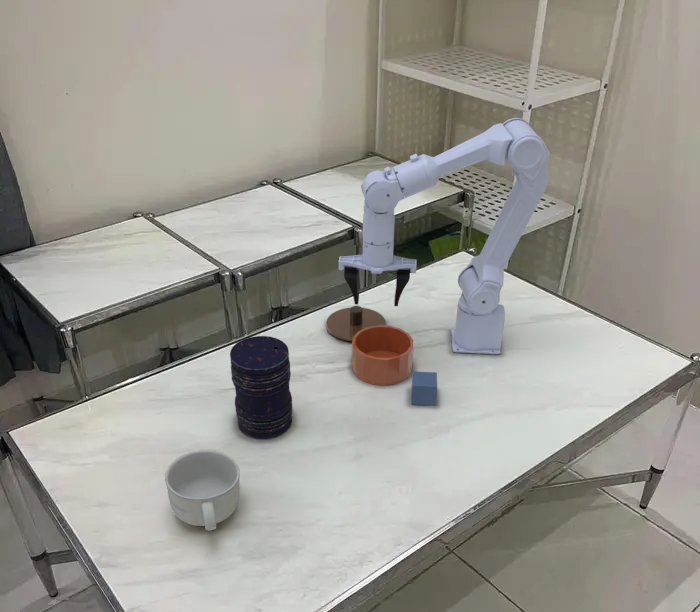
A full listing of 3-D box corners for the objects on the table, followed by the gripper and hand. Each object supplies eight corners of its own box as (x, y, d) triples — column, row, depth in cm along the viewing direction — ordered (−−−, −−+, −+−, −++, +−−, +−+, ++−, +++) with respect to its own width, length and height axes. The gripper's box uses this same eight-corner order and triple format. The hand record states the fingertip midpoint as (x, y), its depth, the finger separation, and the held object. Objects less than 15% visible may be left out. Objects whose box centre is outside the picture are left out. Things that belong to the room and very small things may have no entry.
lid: (386, 312, 157) (387, 294, 154) (384, 345, 147) (385, 326, 144) (329, 310, 158) (329, 292, 155) (323, 342, 148) (323, 323, 145)
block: (434, 391, 135) (436, 372, 132) (435, 405, 132) (437, 386, 129) (411, 390, 135) (412, 371, 133) (411, 404, 132) (412, 385, 129)
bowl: (411, 351, 145) (413, 326, 142) (411, 386, 136) (413, 360, 132) (354, 349, 146) (354, 324, 142) (350, 383, 137) (350, 357, 133)
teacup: (176, 486, 115) (169, 449, 110) (245, 482, 116) (240, 445, 111) (166, 555, 104) (157, 518, 99) (241, 551, 105) (237, 513, 100)
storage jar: (247, 446, 123) (239, 376, 113) (229, 412, 130) (221, 344, 121) (301, 430, 126) (298, 360, 117) (281, 398, 133) (277, 330, 124)
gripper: (336, 246, 129) (337, 311, 138) (417, 250, 128) (413, 315, 137) (340, 229, 135) (340, 293, 143) (418, 232, 134) (414, 296, 142)
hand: (376, 302), depth 140 cm, fingers open, 7 cm apart
